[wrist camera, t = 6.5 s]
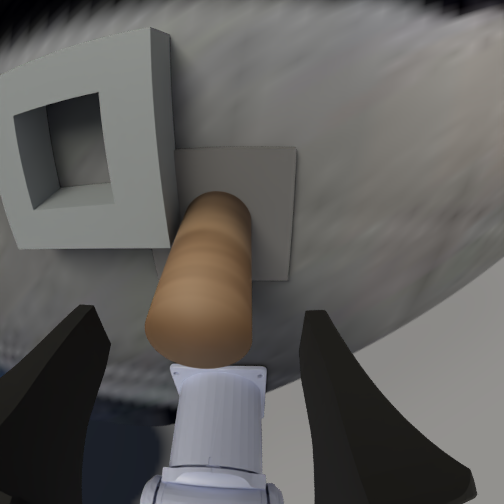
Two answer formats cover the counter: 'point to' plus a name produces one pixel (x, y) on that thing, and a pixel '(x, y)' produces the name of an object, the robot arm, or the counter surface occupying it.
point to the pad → (244, 198)
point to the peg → (206, 287)
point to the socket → (115, 139)
